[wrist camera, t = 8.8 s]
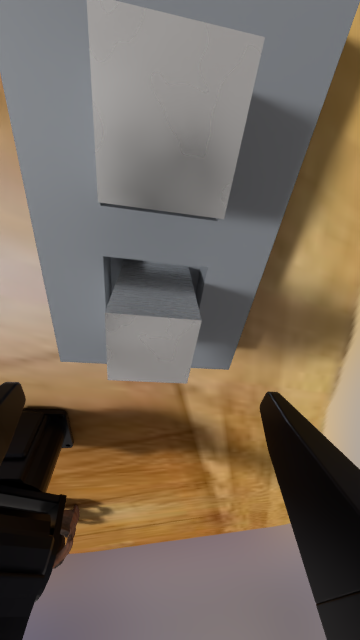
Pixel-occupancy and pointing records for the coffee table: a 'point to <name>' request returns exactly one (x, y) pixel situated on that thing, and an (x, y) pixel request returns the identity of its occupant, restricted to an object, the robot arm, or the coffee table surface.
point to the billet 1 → (167, 107)
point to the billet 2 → (151, 323)
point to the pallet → (146, 224)
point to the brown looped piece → (66, 534)
